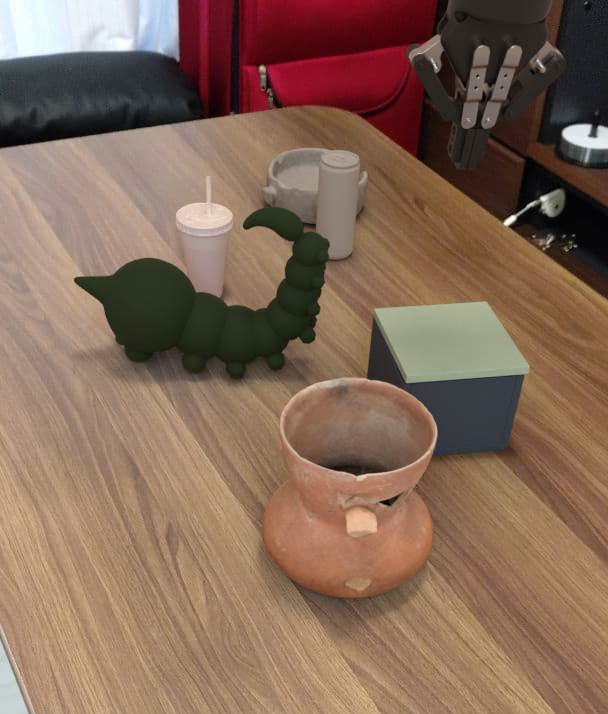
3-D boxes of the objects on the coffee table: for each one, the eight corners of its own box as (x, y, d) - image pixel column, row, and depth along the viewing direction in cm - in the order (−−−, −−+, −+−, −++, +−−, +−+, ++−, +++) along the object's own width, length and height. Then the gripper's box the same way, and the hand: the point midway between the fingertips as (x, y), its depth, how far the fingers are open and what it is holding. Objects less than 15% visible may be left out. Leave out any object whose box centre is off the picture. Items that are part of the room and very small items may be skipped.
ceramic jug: (439, 629, 79) (467, 498, 69) (260, 626, 78) (262, 494, 68) (417, 482, 91) (438, 354, 82) (262, 479, 91) (265, 350, 81)
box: (507, 449, 96) (525, 375, 89) (392, 460, 94) (403, 384, 88) (471, 381, 104) (485, 308, 97) (365, 389, 102) (373, 316, 96)
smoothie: (231, 308, 112) (230, 191, 102) (176, 306, 112) (169, 188, 102) (235, 280, 117) (234, 165, 107) (181, 277, 116) (176, 162, 107)
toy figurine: (310, 356, 109) (85, 324, 107) (336, 194, 95) (80, 156, 94) (306, 406, 102) (66, 374, 100) (334, 240, 89) (58, 199, 87)
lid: (528, 374, 89) (530, 366, 88) (405, 383, 87) (406, 375, 86) (485, 308, 97) (486, 301, 97) (373, 315, 96) (373, 308, 95)
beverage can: (340, 265, 120) (347, 170, 112) (307, 254, 122) (312, 159, 114) (359, 250, 123) (368, 156, 115) (327, 239, 125) (333, 146, 116)
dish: (303, 173, 139) (305, 138, 135) (385, 202, 133) (389, 166, 130) (240, 208, 130) (240, 171, 127) (325, 241, 125) (327, 203, 121)
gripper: (437, -45, 65) (397, 191, 79) (620, -41, 67) (551, 187, 81) (411, -87, 70) (377, 142, 83) (583, -82, 72) (523, 140, 85)
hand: (463, 164), depth 82 cm, fingers closed
